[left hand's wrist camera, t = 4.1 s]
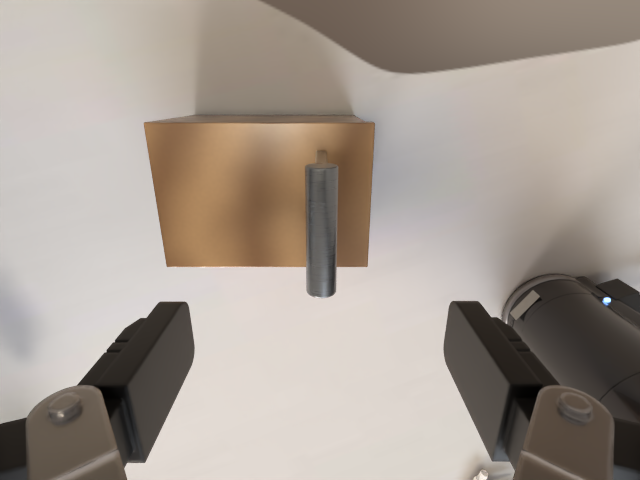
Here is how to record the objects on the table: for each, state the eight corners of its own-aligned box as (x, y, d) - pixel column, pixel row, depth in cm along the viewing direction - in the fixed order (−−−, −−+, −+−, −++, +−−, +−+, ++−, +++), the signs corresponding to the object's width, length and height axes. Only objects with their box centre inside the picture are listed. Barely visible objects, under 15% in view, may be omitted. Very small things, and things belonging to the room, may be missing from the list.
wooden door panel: (372, 121, 25) (397, 132, 17) (365, 261, 28) (383, 324, 21) (150, 121, 25) (71, 132, 17) (171, 261, 28) (115, 324, 21)
